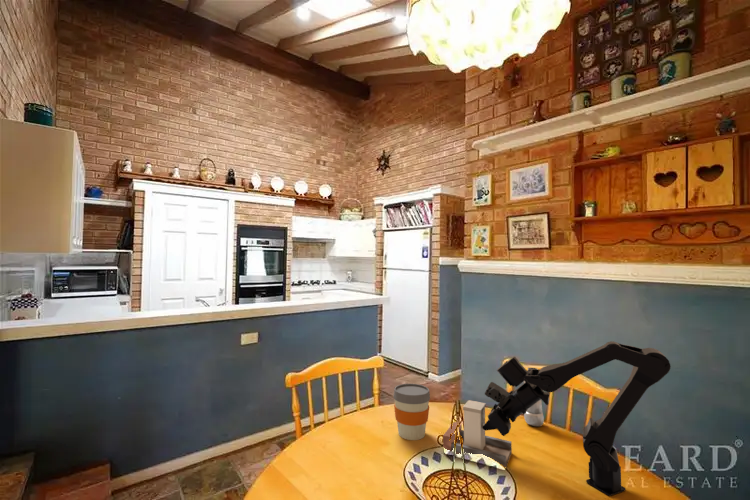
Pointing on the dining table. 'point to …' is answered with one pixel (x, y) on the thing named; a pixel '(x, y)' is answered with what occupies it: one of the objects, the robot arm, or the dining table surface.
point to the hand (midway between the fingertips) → (483, 428)
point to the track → (492, 449)
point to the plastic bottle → (534, 413)
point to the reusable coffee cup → (411, 410)
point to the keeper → (474, 424)
